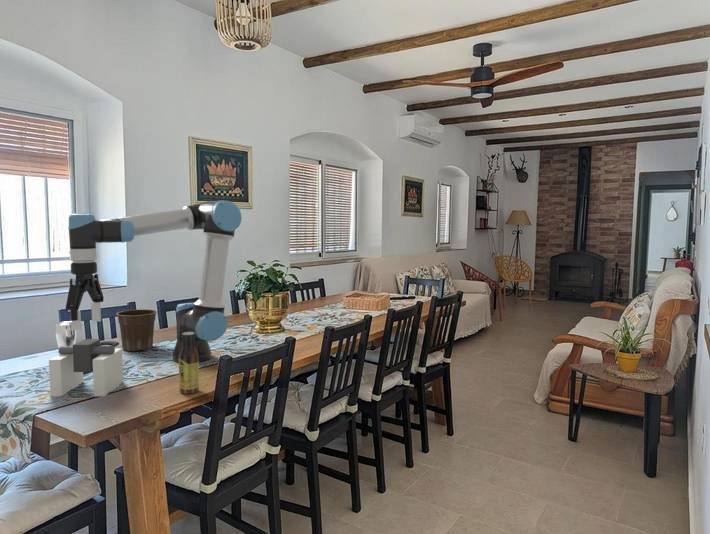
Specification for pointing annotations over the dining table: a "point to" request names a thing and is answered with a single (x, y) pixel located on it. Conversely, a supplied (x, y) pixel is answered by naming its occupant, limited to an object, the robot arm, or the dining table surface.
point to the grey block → (84, 355)
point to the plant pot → (137, 329)
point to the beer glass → (65, 334)
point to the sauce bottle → (188, 365)
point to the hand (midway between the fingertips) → (86, 325)
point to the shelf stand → (65, 378)
